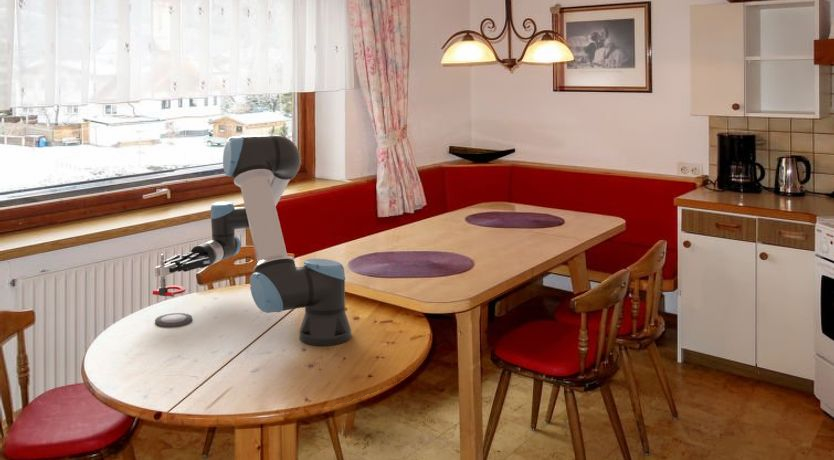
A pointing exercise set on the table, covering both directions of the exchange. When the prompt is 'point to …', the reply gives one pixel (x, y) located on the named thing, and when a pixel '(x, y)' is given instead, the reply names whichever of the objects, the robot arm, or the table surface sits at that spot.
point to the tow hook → (164, 289)
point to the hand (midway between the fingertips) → (158, 272)
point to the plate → (173, 320)
